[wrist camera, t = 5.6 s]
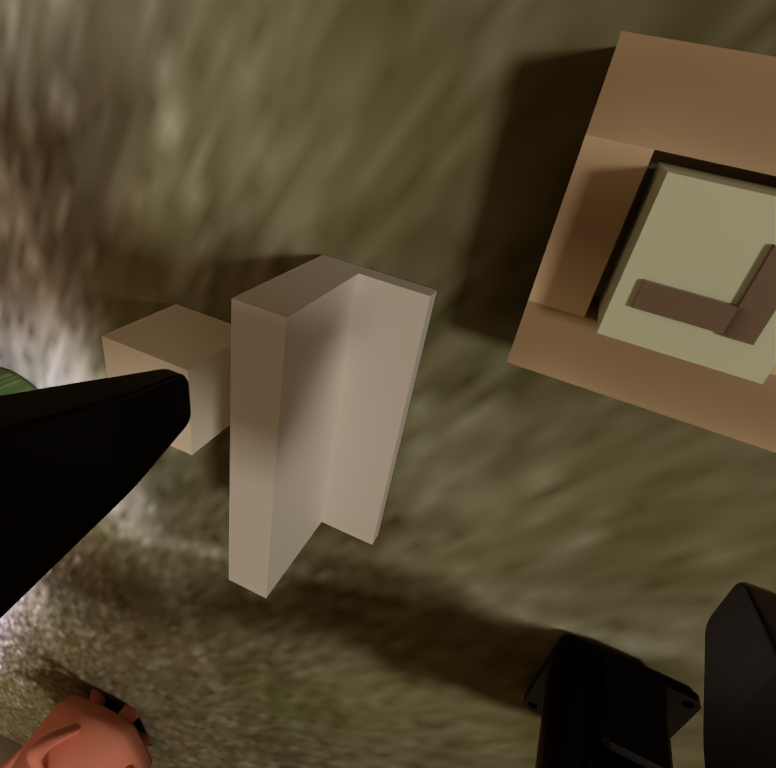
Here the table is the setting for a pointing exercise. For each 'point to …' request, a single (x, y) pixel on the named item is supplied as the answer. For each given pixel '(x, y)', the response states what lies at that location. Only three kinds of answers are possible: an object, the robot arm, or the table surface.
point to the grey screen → (317, 407)
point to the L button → (698, 273)
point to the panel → (618, 208)
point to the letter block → (180, 364)
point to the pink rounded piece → (85, 738)
